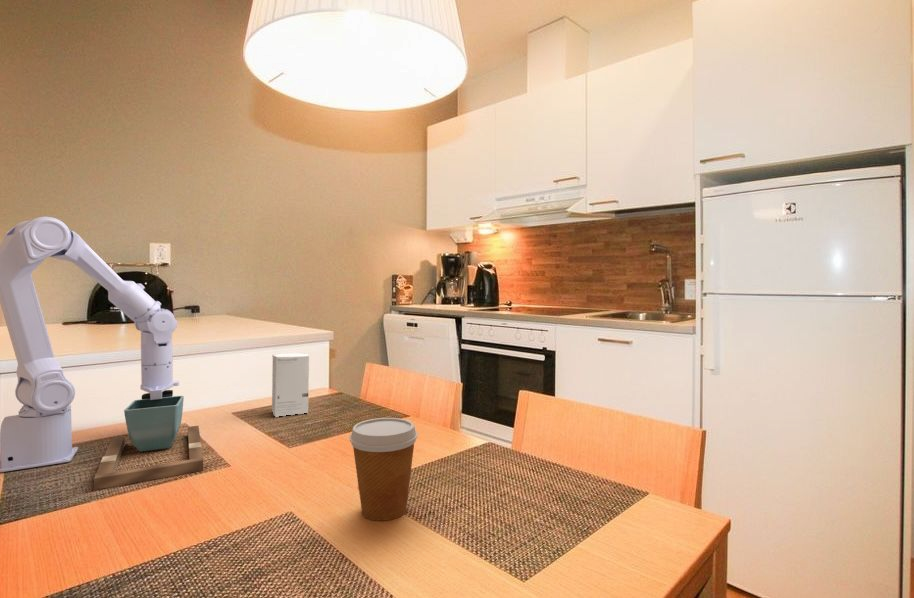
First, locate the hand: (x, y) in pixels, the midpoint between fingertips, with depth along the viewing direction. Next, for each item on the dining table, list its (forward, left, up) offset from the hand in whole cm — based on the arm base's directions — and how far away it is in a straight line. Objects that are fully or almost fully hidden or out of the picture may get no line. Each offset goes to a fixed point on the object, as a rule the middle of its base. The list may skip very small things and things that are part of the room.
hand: (158, 425), depth 101 cm
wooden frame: (0, -16, -2) cm, 16 cm away
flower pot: (0, -10, -2) cm, 10 cm away
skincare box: (+28, +2, -2) cm, 28 cm away
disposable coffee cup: (+29, -58, -2) cm, 65 cm away
